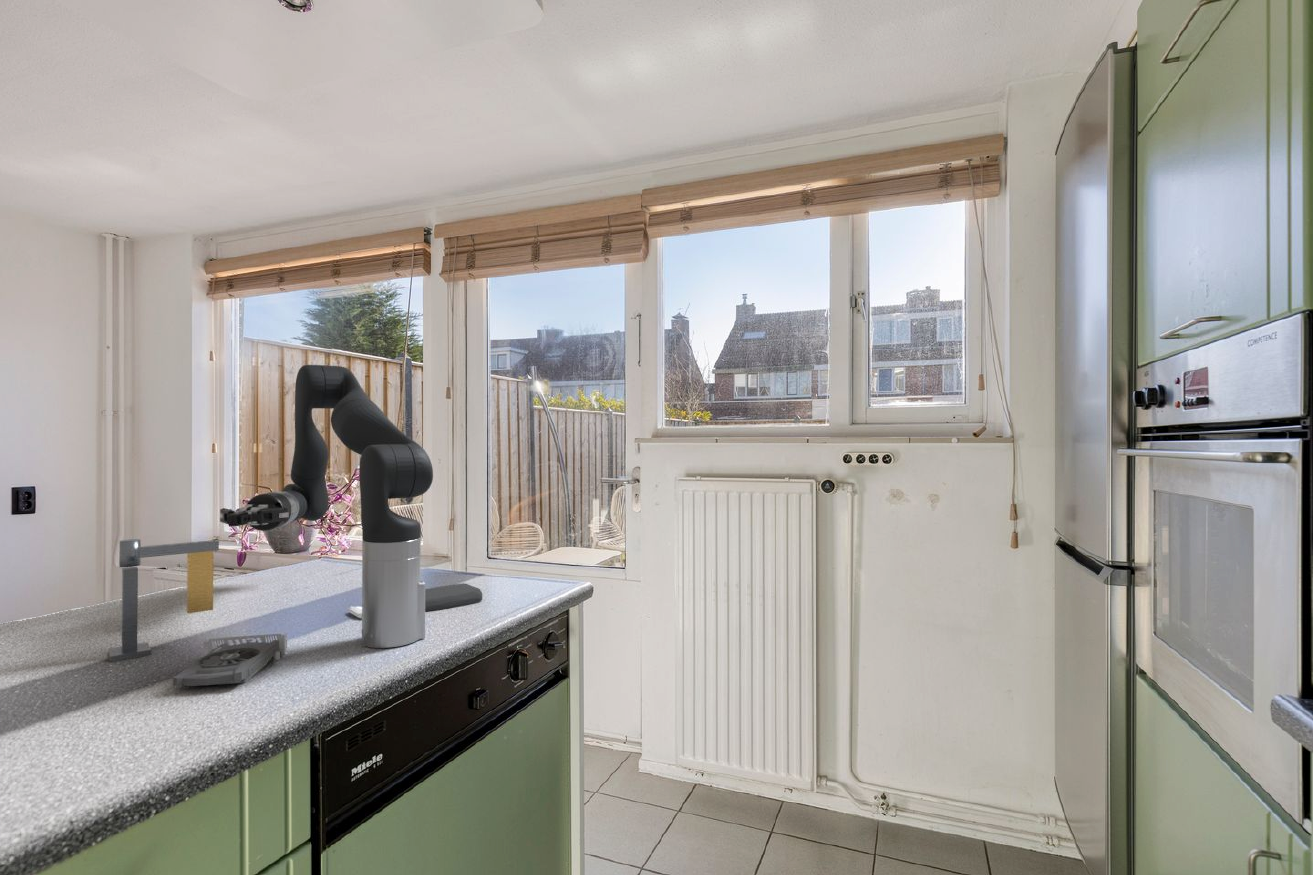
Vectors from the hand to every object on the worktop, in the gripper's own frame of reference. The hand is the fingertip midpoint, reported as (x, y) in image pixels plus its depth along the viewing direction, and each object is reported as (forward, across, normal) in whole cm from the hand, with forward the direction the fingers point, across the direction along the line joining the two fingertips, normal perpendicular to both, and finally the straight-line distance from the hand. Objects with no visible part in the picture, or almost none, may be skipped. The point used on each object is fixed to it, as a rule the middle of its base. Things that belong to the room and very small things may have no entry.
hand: (232, 520), depth 120 cm
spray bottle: (-9, +31, +20) cm, 38 cm away
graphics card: (+26, +11, +20) cm, 34 cm away
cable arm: (+12, -4, +14) cm, 19 cm away
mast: (+15, -8, +19) cm, 26 cm away
